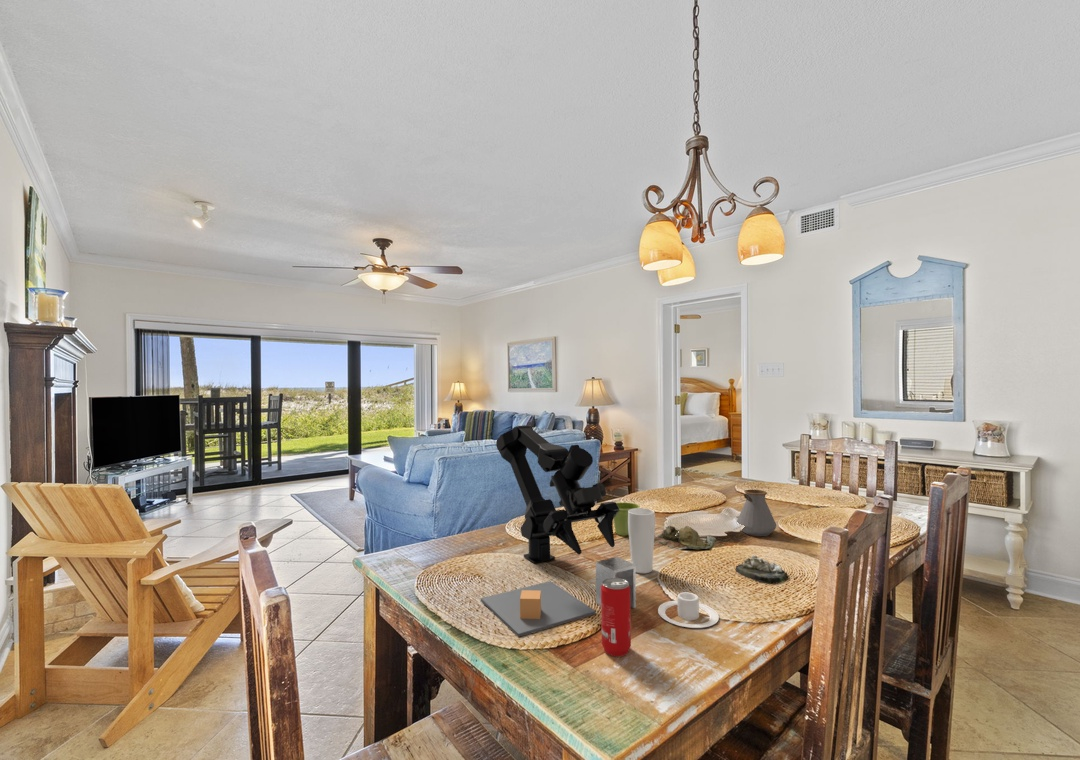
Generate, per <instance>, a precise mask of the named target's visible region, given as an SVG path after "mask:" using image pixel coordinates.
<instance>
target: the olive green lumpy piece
mask: <svg viewBox="0 0 1080 760" xmlns="http://www.w3.org/2000/svg"><path fill="white" fill-rule="evenodd" d="M678 531H679V533H678ZM675 535H676V536H675ZM657 539H664V540H668V541H669V542H671V543H677V544H681V545H683V546H685V547H683V548H679V547H678V548H676V546H675V547H674V546H672V545H671V546H670V545H669V543H667V542H662V541H658V542H659V544H662V545H664V546H665V547H666V546H667V547H668V548H671V549H677V550H681V551H682V550H685V549H693V550H703V549H705V550H706V549H710V550H711V549H713V548H714V546H715V542H716V541H717V539H716V537H714V536H712V535H706V538H705V537H702V538H701V537H700V535H699V533H698V531H696V530H695V529H694V528H692V527H691V526H688V525H686V526H684V527H683V528H680V529H678V528H676V527H675V526H673V525H670V524H669V525H667V526H666V527H665V529H664V530H662V532H661V533H660V534H659V535H657Z"/></svg>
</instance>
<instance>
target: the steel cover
mask: <svg viewBox="0 0 1080 760" xmlns="http://www.w3.org/2000/svg"><path fill="white" fill-rule="evenodd" d="M636 573H637V572H636V565H634V564H632V563H631V561H630V562H629V561H627V560H625V559H624V558H622V557H619V556H614V557H611V558H606V559H603V560H598V561H597V560H596V561H595V603H596V604H597V605H598V606H599V607H601V586H602V582H603V581H604V580H605V579H608V578H621V579H624V580H626V581H627V582H628V583H629V587H630V608H633V609H636V608H637V604H636V603H637V595H636V594H637V591H636V590H637V587H636V585H637V584H636V583H637V580H636V575H637V574H636Z"/></svg>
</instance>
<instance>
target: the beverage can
mask: <svg viewBox="0 0 1080 760" xmlns="http://www.w3.org/2000/svg"><path fill="white" fill-rule="evenodd" d="M600 607H601V609H600V612H601V615H600V616H601V617H600V619H601V627H600V628H601V645H602V648H603V651H604V653H606V654H607V655H609V656H611V657H616V658H618V657H620V658H621V657H624V656H627V654H629V652H630V651H629V650H630V649H631V647H632V638H631V637H632V629H631V628H632V625H631V623H632V622H631V618H632V617H631V611H632V610H631V606H630V587H629V583H628V582H627V581H626V580H624V579H621V578H608V579H605V580H604V581H603V582H602V586H601V606H600Z"/></svg>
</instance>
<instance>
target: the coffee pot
mask: <svg viewBox="0 0 1080 760" xmlns="http://www.w3.org/2000/svg"><path fill="white" fill-rule="evenodd" d="M743 492H744V493H743V494H742V495H740V500H741V501H742V502H744V503H743V507H742V508H741V510H740V513H739V514H738V518H737V519H736V523H737V522H738V523H739V524H741V525H744V526H745V527H744V528H743V529H742V532H743V533H744V534H746V535H750V536H754V537H755V536H756V537H768V536H769V535H771V534H772V533H773V532H774V531H775V530H776V528H777V522H776V520H775V518H774V516H773V514H772V512H771V510H770V507H769V505H768V503H767V501H766V495H768V492H767V491H765V490H761V489H744V490H743ZM742 496H743V497H744V499H745V500H743V499H742Z"/></svg>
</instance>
